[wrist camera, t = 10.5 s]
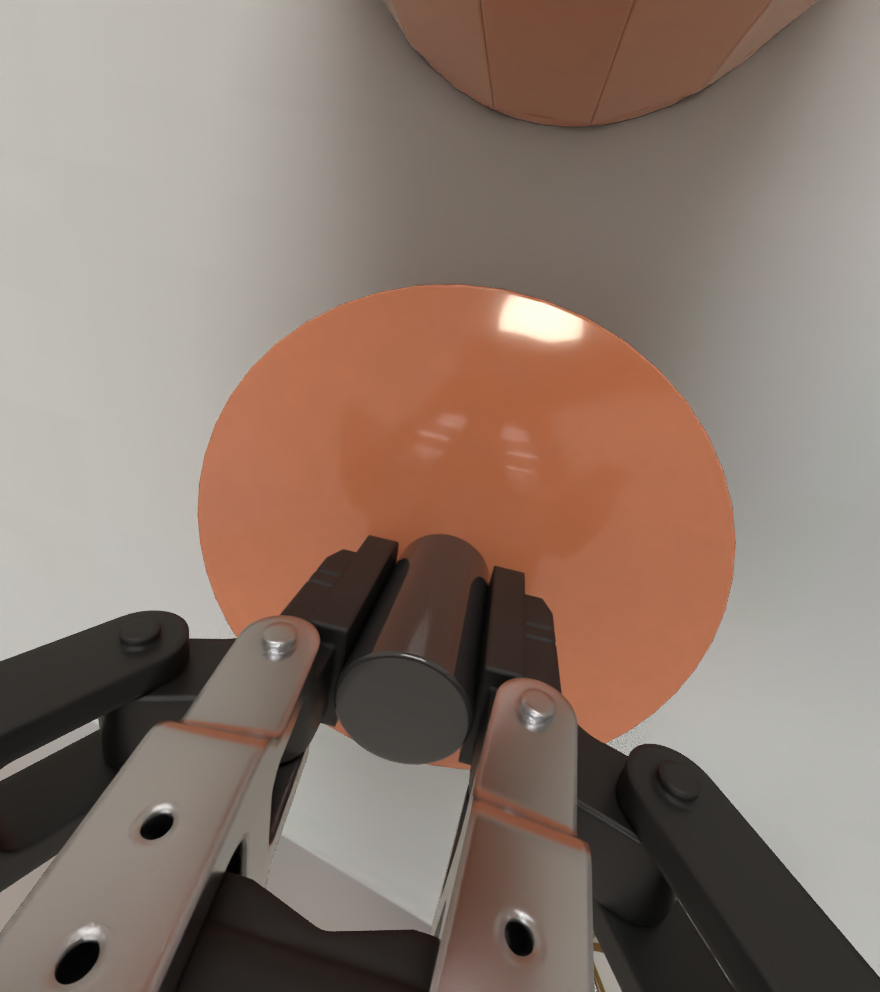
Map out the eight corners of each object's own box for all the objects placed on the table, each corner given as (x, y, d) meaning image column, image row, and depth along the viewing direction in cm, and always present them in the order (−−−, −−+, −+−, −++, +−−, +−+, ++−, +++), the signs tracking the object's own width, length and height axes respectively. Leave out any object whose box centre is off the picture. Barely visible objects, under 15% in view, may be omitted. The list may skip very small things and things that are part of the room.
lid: (223, 238, 11) (-52, 159, 6) (820, 353, 10) (1170, 390, 5) (222, 675, 16) (76, 849, 11) (614, 784, 15) (666, 1036, 10)
